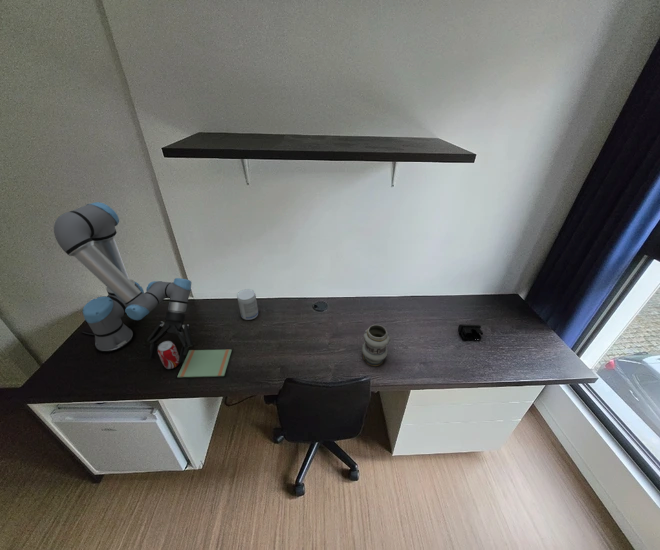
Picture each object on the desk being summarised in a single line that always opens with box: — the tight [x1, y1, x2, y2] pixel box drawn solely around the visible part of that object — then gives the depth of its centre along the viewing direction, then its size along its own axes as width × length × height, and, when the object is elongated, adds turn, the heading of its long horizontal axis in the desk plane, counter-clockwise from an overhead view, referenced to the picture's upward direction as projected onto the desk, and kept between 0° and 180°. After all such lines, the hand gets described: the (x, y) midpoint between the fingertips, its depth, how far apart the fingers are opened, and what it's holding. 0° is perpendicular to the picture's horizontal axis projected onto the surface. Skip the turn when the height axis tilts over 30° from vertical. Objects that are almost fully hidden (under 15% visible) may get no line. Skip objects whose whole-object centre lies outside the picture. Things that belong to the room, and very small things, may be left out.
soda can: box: [157, 340, 180, 370], centre depth 129 cm, size 7×7×12 cm
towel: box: [176, 348, 233, 379], centre depth 133 cm, size 20×15×1 cm
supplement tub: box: [236, 288, 259, 321], centre depth 157 cm, size 10×10×15 cm
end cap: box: [457, 323, 484, 342], centre depth 151 cm, size 10×7×7 cm
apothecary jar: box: [361, 324, 391, 367], centre depth 134 cm, size 12×12×18 cm
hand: (166, 360), depth 127 cm, fingers open, 13 cm apart
